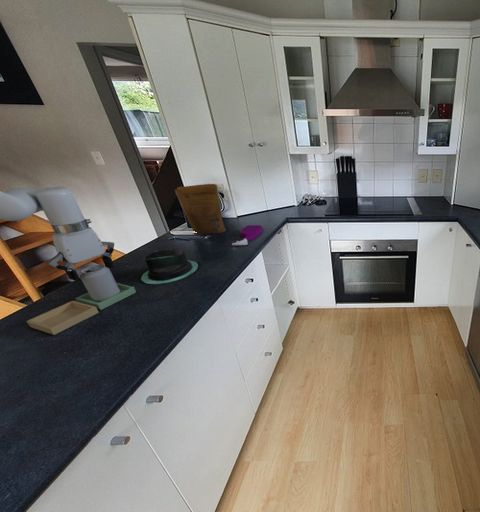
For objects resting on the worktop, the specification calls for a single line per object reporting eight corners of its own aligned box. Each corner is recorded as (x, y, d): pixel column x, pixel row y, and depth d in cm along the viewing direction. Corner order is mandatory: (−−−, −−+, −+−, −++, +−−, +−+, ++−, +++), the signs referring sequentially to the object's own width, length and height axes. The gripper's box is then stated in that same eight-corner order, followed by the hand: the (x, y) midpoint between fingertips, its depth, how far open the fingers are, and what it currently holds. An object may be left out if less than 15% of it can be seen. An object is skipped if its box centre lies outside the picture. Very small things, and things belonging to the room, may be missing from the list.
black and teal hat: (138, 288, 104) (136, 269, 117) (194, 293, 117) (187, 275, 131) (149, 252, 102) (147, 237, 116) (205, 261, 116) (197, 247, 129)
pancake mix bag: (227, 233, 157) (215, 184, 145) (189, 237, 151) (173, 186, 138) (229, 229, 163) (217, 182, 150) (191, 233, 156) (176, 184, 144)
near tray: (30, 327, 85) (26, 321, 84) (76, 306, 95) (73, 300, 94) (54, 335, 82) (50, 328, 81) (99, 312, 92) (95, 306, 91)
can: (87, 301, 97) (71, 272, 91) (111, 289, 103) (97, 262, 98) (103, 304, 95) (87, 275, 90) (126, 292, 102) (112, 264, 96)
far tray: (78, 303, 96) (75, 298, 95) (115, 287, 106) (112, 281, 105) (100, 310, 93) (97, 304, 92) (136, 292, 103) (133, 286, 102)
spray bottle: (264, 229, 164) (251, 246, 142) (245, 229, 163) (229, 247, 141) (263, 224, 163) (250, 241, 141) (244, 225, 162) (228, 242, 140)
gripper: (95, 217, 96) (114, 261, 103) (24, 234, 81) (53, 283, 88) (110, 220, 94) (128, 264, 101) (41, 238, 79) (68, 288, 86)
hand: (93, 273), depth 95 cm, fingers open, 9 cm apart
